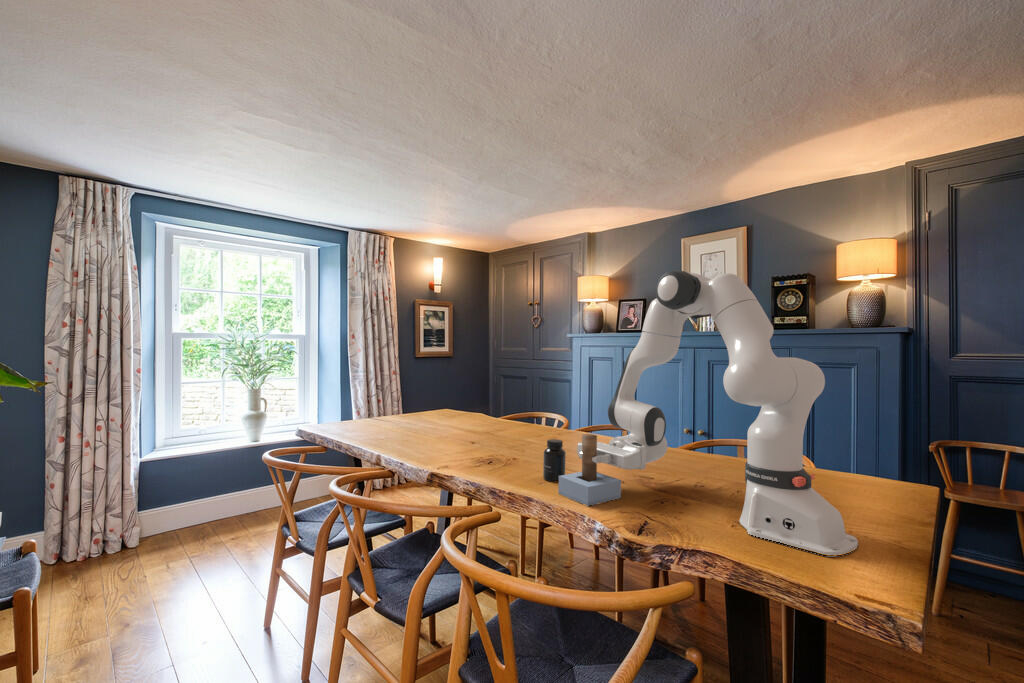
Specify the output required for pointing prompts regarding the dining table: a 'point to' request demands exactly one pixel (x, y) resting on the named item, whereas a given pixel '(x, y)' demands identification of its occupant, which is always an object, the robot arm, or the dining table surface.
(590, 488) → the socket block
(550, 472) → the supplement bottle
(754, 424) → the robot arm
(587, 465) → the dowel
